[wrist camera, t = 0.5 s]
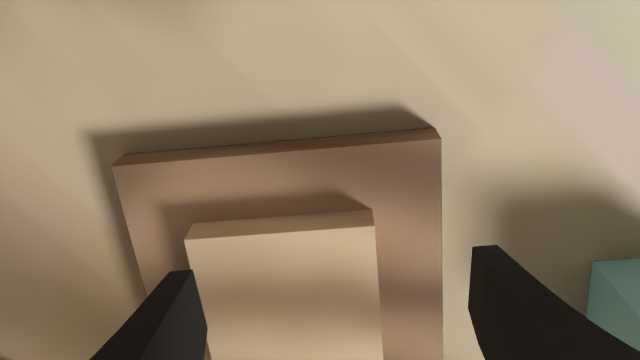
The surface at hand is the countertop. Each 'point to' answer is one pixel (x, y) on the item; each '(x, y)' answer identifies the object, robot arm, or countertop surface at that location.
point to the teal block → (616, 299)
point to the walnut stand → (299, 242)
